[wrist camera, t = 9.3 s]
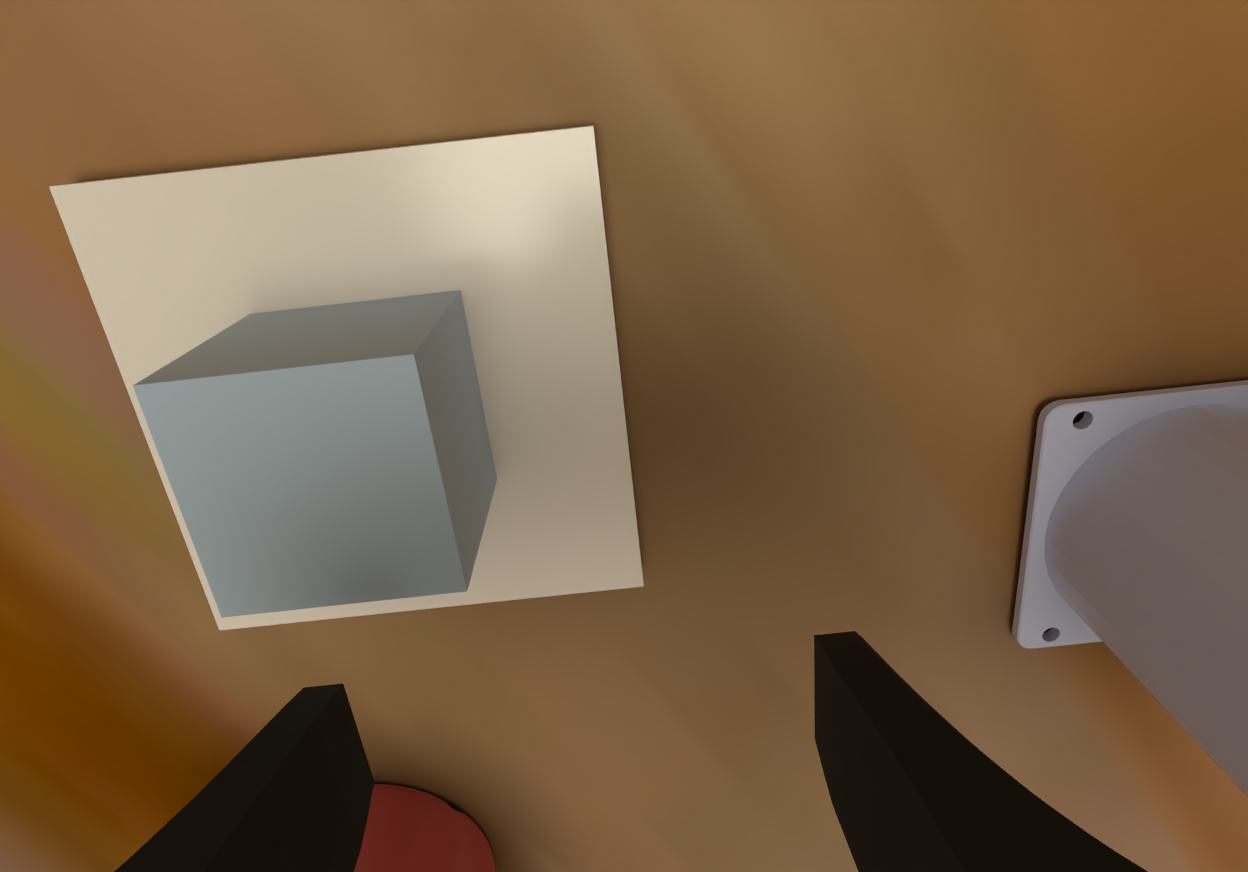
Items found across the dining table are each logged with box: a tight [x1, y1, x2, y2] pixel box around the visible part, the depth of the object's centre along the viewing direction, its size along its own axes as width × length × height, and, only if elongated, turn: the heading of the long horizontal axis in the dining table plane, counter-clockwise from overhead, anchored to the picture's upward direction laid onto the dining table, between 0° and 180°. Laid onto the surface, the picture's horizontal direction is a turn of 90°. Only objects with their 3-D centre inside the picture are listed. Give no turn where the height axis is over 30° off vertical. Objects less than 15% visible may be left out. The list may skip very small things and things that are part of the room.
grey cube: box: [133, 290, 497, 618], centre depth 17 cm, size 5×5×5 cm
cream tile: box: [49, 125, 644, 630], centre depth 20 cm, size 12×12×1 cm
